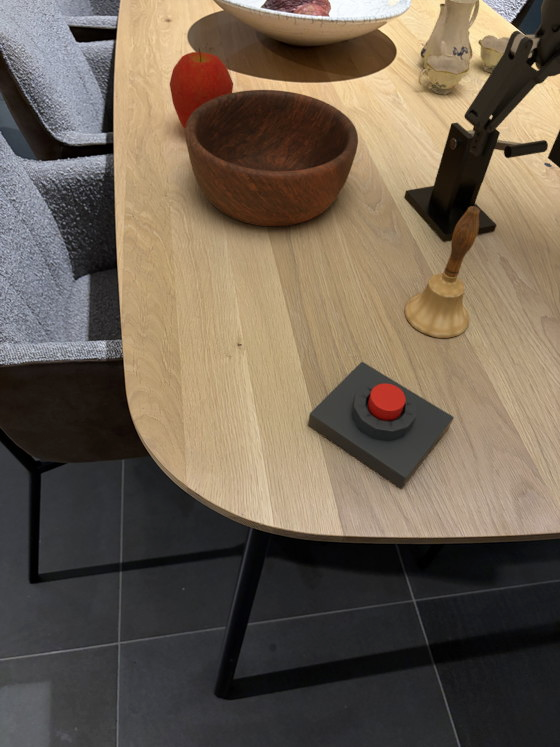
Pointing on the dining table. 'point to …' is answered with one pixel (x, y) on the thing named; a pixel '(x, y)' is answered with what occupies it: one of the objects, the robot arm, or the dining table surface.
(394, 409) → the button
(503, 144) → the lever
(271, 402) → the dining table surface
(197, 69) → the apple
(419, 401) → the push button switch
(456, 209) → the bracket
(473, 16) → the chinaware
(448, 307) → the hand bell
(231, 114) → the wooden bowl
